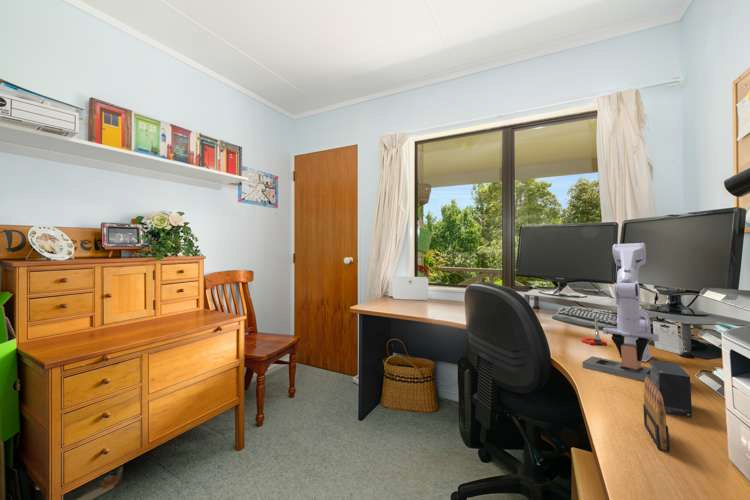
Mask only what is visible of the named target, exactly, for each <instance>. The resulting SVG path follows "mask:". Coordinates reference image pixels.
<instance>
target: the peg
mask: <svg viewBox="0 0 750 500" xmlns="http://www.w3.org/2000/svg"><path fill="white" fill-rule="evenodd" d="M621 356H622V358H621V362H622V366H623V367H628V368H633V369H638V368H640V367H641V366H642V365H641V364H642V363H641V362H642V361H638V359H637V346H636V345H634V344H627V343H624V344H622V345H621Z"/></svg>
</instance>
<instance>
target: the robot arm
mask: <svg viewBox="0 0 750 500" xmlns="http://www.w3.org/2000/svg"><path fill="white" fill-rule="evenodd" d="M646 249H647V248H646V243H644V242H636V243H635V242H634V243H614V244H613V245H612V257H613V260H614V263H615V265H616V266H619V267H620V268H619V269H618V270H617V275H616V283H614V286H613V287H614V288H613V292H614V298H615V304H616V305H617V306H616V307H617V308H616V309H617V317H616V328H613V327H603V328H602V333H603V335H612V336H611V340H612V342H613V343H614V345H615V346H616V348H617V350H618V355H619V358H621V359H622V356H621V345H622V344H624V343H627V344H634V345H636V346H637V359H638V361H641V362H644V363H646V362H649V361H650V360H651V359H652V357H653V354H650V347H649V346H650V345H649V342H650V341H653V342H654V341H656V342H658V341H659V335H658V334H654V333H651V332H652V331H651V329H652V328H651V319H650V314H649V313H648V312H646V311H645V310H643V309H641V308H640V305H641V304H640V300H641V299H640V298H641V287H640V284H639V270H640V267H641V266H644V265H646V262H647V251H646Z"/></svg>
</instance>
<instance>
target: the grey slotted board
mask: <svg viewBox="0 0 750 500" xmlns="http://www.w3.org/2000/svg"><path fill="white" fill-rule="evenodd" d="M581 364H582V368H583V369H588V370H591V371H597V372H601V373H605V374H610V375H613V376H619V377H623V378H626V379H633V380H635V381H640V382H643V383H645V378H646V376H648V378H649V379H650V380H651V371H650V367H647V366H644V365H643V366H642V365H641V367H640V368H638V369H633V368H628V367H623V366H622V361H617V360H612V359H608V358H602V357H598V356H589V358H587V359H584V360H583V361H582V363H581Z"/></svg>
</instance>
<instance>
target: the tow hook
mask: <svg viewBox="0 0 750 500" xmlns="http://www.w3.org/2000/svg"><path fill="white" fill-rule="evenodd" d="M594 330H595V333H594V336H595V338H591V337H589V338H582V339H581V342H582V343H585V344H588V345H590V346H606V345H608V344H607V343H608V342H607V341H604V340H603V339H600V333H599V332H600V331H599V321H598V316H597V315H594ZM586 340H593V341H586Z"/></svg>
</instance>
